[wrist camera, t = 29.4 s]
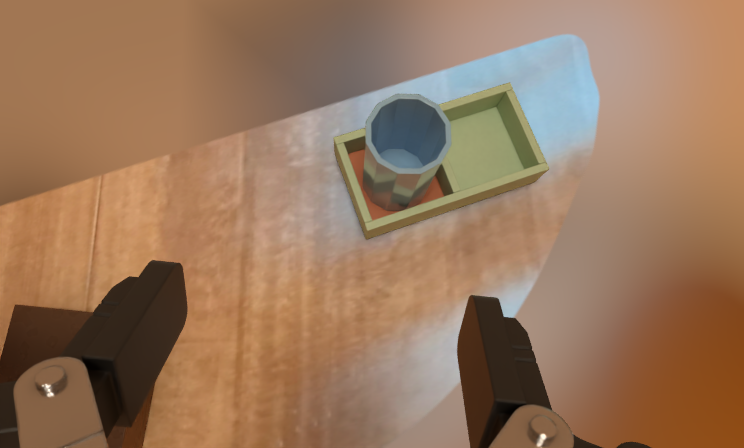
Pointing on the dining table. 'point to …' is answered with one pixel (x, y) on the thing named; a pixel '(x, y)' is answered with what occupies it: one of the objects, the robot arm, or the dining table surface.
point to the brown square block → (48, 340)
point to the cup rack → (456, 160)
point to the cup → (403, 150)
